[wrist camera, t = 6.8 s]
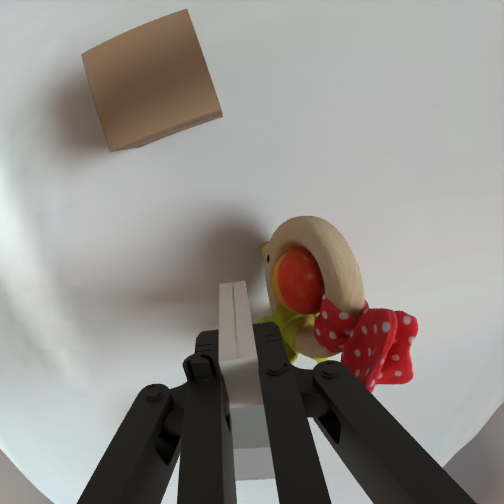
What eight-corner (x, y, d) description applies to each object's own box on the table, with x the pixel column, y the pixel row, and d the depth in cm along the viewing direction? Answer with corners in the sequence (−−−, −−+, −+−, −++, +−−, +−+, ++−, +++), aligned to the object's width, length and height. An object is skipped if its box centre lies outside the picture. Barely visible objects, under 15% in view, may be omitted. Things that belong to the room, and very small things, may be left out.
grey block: (211, 388, 23) (210, 449, 18) (274, 386, 24) (285, 445, 18) (215, 425, 25) (215, 480, 19) (271, 423, 25) (280, 477, 20)
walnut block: (116, 71, 15) (81, 54, 10) (197, 39, 15) (186, 8, 10) (140, 147, 17) (110, 152, 12) (223, 116, 17) (221, 109, 12)
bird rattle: (213, 253, 20) (248, 389, 19) (251, 185, 10) (321, 458, 8) (301, 234, 22) (334, 360, 21) (400, 167, 11) (452, 384, 10)
